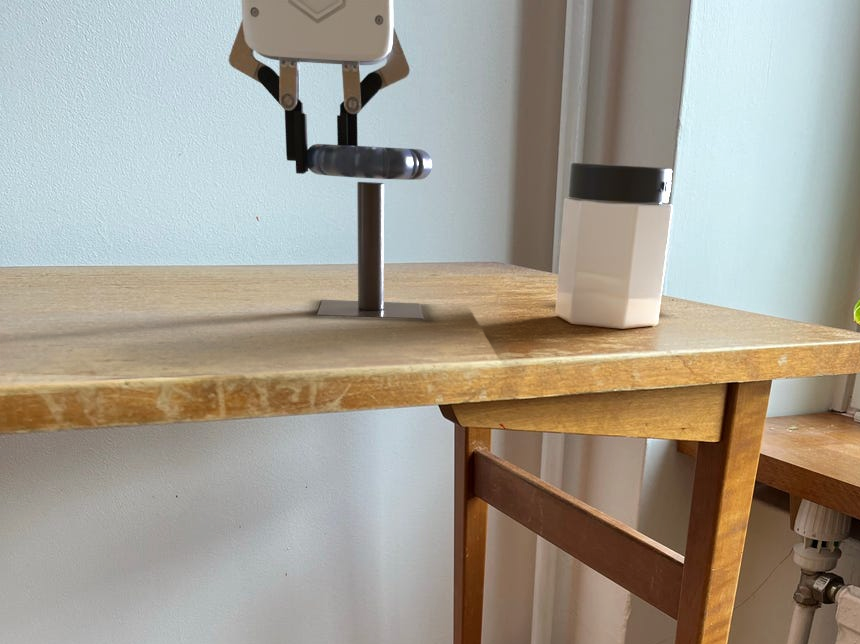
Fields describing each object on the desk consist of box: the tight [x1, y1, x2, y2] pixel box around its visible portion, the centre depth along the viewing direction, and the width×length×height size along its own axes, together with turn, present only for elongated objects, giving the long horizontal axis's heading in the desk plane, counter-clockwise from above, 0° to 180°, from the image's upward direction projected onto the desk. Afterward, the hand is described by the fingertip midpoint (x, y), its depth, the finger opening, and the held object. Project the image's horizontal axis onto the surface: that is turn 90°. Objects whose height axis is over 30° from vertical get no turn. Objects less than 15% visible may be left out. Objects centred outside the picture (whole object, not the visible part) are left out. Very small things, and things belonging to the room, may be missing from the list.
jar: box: [554, 162, 673, 330], centre depth 81 cm, size 9×8×12 cm
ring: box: [306, 143, 433, 181], centre depth 72 cm, size 9×9×2 cm
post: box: [316, 181, 425, 320], centre depth 75 cm, size 8×8×10 cm
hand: (323, 171), depth 72 cm, fingers closed on ring, 2 cm apart
